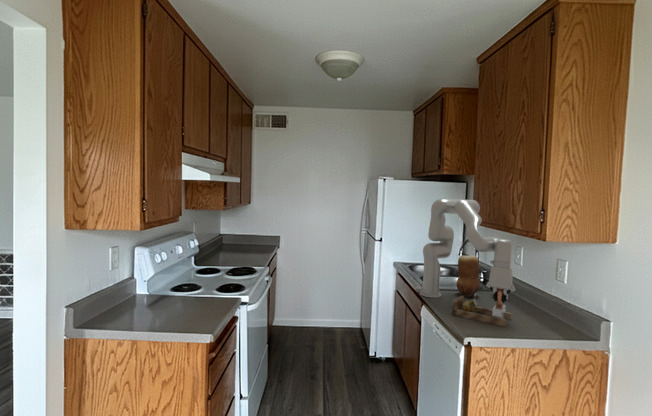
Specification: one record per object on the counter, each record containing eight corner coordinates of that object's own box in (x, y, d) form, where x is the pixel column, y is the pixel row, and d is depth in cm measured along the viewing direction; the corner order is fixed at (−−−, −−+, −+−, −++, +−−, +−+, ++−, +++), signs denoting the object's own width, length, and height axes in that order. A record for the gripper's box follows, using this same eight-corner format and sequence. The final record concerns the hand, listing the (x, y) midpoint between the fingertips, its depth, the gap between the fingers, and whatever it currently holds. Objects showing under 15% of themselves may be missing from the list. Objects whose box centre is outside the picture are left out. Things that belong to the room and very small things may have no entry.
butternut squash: (456, 292, 238) (458, 252, 236) (479, 295, 232) (481, 254, 231) (455, 297, 225) (457, 255, 224) (479, 300, 220) (481, 258, 218)
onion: (475, 312, 196) (476, 297, 196) (478, 317, 189) (479, 302, 188) (460, 311, 198) (460, 296, 198) (462, 316, 190) (463, 300, 190)
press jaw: (491, 320, 182) (493, 289, 181) (496, 315, 191) (498, 285, 190) (500, 322, 180) (502, 291, 179) (504, 317, 188) (506, 287, 188)
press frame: (452, 314, 191) (452, 301, 191) (459, 308, 203) (460, 295, 202) (505, 326, 177) (506, 312, 177) (510, 319, 188) (511, 305, 188)
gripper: (482, 263, 186) (480, 299, 187) (519, 268, 176) (516, 306, 177) (485, 261, 192) (483, 296, 193) (521, 265, 182) (519, 303, 183)
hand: (499, 301), depth 185 cm, fingers closed on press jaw, 3 cm apart
